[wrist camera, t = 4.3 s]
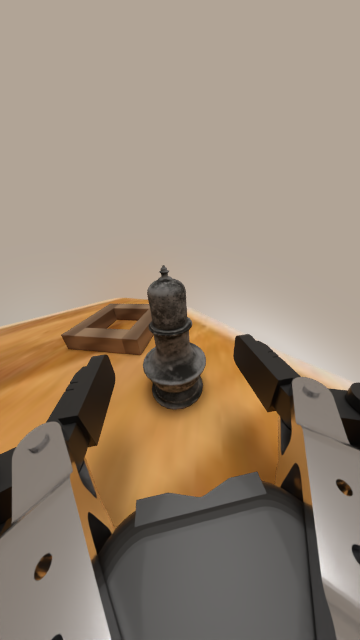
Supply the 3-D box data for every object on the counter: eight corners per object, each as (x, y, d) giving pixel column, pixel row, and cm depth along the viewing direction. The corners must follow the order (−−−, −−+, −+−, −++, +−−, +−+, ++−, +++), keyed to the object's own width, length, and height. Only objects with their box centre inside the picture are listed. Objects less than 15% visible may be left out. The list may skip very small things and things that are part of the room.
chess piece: (171, 358, 20) (158, 259, 14) (214, 376, 17) (220, 259, 11) (137, 393, 15) (99, 271, 10) (186, 426, 12) (173, 277, 7)
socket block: (68, 348, 23) (61, 335, 22) (113, 314, 34) (110, 303, 32) (140, 354, 21) (137, 339, 20) (165, 315, 31) (164, 304, 30)
